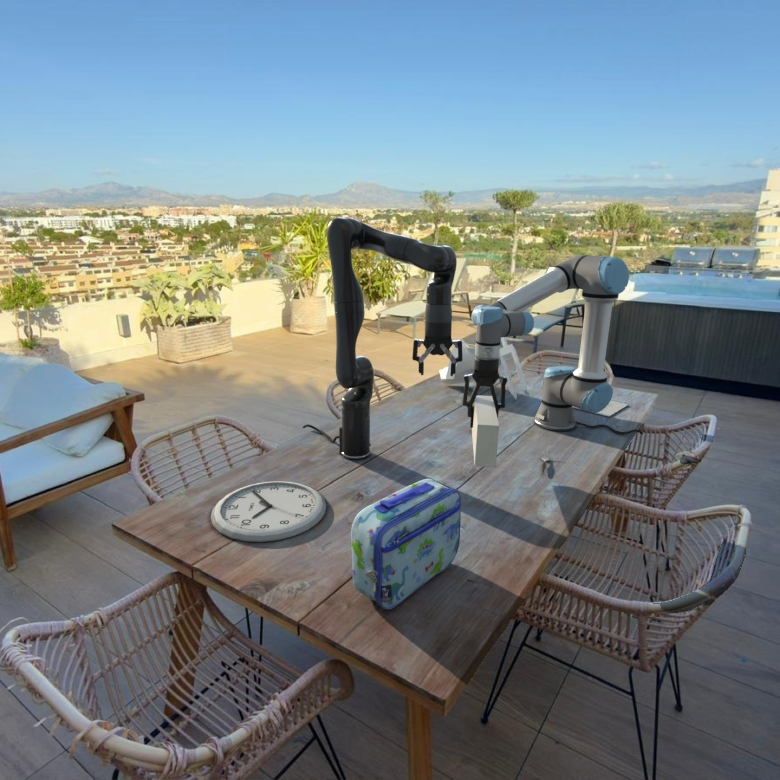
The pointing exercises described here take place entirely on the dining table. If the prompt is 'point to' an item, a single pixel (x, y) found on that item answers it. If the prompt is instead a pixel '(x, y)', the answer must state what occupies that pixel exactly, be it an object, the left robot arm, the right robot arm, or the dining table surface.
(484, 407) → the box
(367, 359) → the left robot arm
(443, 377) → the white plastic object
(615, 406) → the invitation card
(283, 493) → the wall clock
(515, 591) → the dining table surface
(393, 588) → the lunch box
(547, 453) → the fork
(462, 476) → the dining table surface
